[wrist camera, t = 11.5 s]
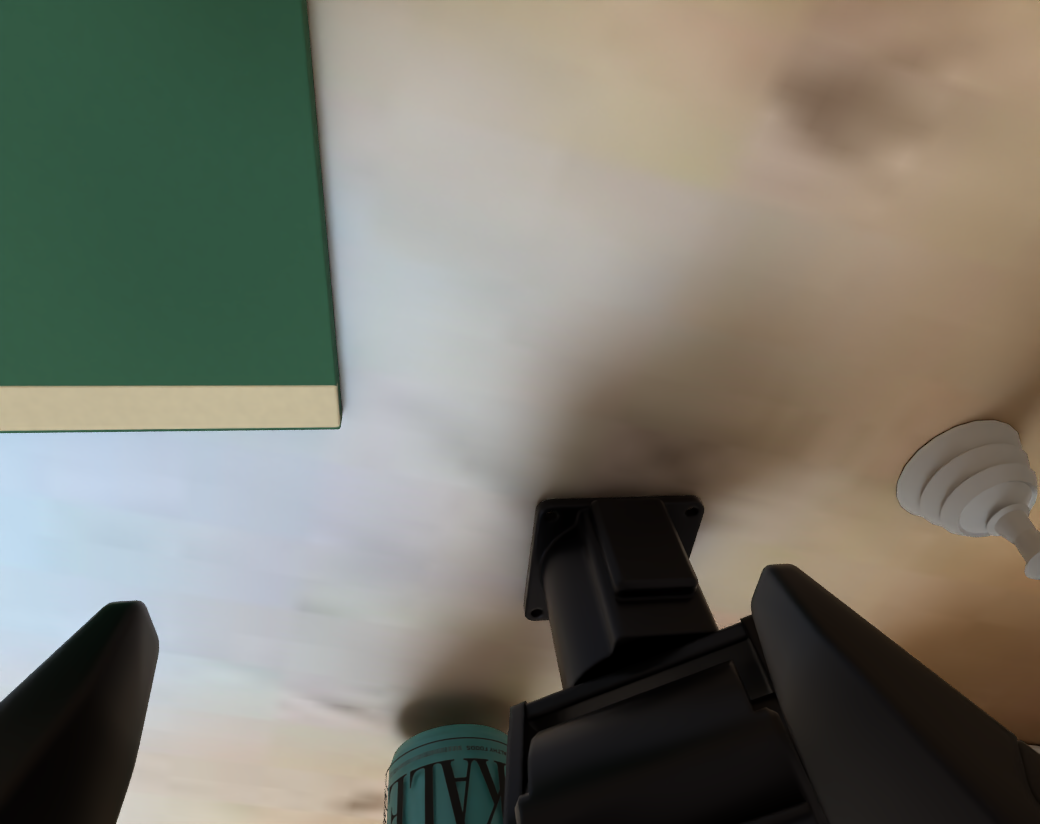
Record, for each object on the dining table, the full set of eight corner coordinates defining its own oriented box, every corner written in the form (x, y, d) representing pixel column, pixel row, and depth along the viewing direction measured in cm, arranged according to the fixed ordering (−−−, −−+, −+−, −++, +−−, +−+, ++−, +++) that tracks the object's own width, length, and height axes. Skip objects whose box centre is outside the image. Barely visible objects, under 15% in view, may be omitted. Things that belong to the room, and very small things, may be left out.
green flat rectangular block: (342, 415, 22) (340, 431, 21) (-71, 419, 20) (-88, 435, 19) (252, -634, 10) (240, -673, 10) (-727, -845, 9) (-824, -912, 8)
